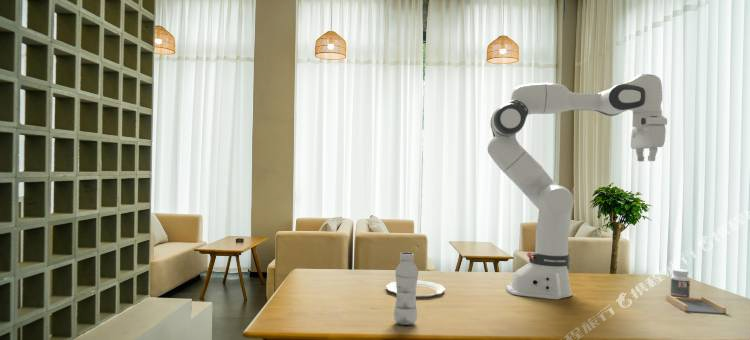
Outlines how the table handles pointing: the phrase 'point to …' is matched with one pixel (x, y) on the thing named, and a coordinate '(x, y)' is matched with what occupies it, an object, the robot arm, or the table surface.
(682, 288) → the pill bottle
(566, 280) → the robot arm
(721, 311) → the wooden tray
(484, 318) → the table surface
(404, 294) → the plastic bottle
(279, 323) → the table surface
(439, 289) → the plate
